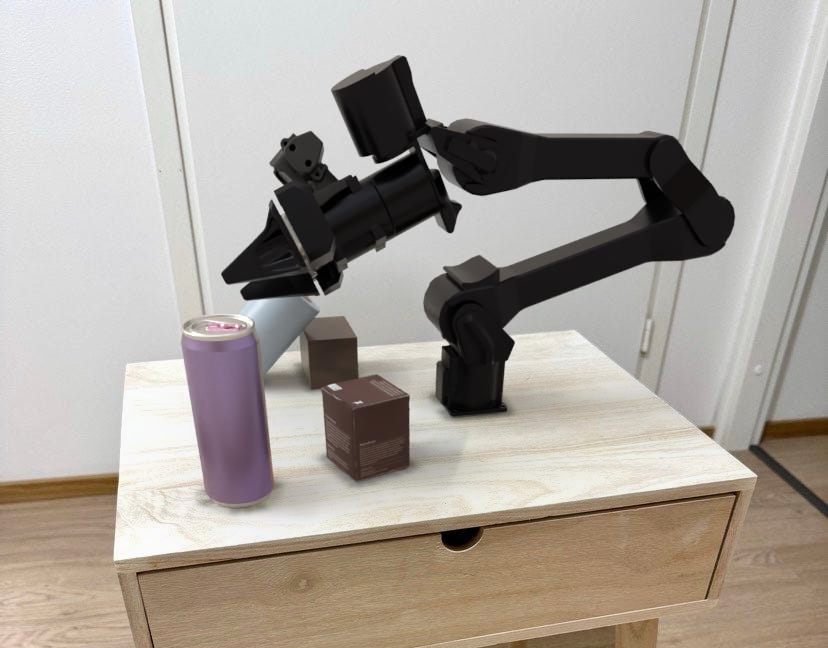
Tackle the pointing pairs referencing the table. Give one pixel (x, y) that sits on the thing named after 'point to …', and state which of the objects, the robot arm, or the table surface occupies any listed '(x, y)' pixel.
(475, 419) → the table surface
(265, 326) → the light blue cylinder
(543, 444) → the table surface
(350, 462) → the box
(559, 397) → the table surface
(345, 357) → the walnut block
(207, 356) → the beverage can
